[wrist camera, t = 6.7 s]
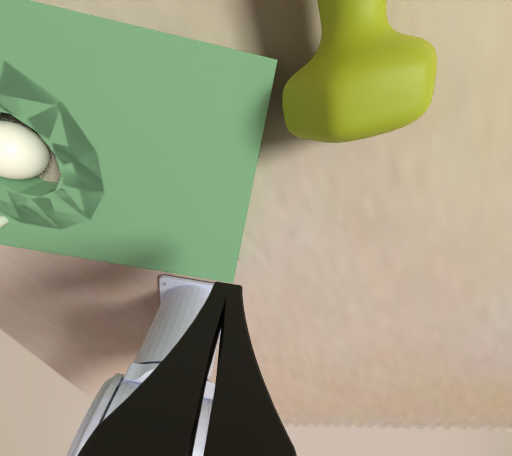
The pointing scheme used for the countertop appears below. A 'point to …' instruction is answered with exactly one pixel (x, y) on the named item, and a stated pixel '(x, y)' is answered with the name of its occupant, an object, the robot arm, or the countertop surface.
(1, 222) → the flag pin
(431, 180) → the countertop surface
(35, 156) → the ball
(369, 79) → the dumbbell
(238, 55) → the green flat board
